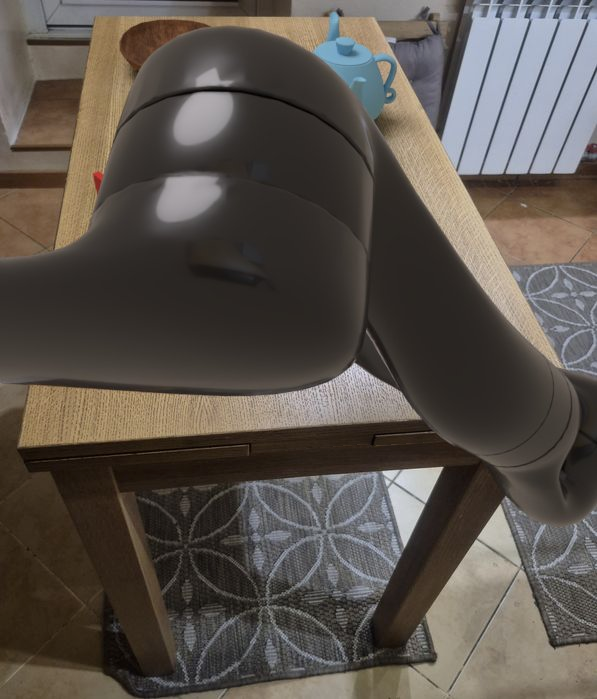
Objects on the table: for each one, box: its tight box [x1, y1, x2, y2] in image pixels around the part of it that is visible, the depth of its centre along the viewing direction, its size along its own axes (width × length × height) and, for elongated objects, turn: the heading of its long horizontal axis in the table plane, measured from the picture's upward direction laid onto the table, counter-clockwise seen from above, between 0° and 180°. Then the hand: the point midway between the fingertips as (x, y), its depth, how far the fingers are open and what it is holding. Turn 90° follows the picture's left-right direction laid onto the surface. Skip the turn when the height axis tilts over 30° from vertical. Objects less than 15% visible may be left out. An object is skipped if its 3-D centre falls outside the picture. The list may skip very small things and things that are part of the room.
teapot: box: [311, 11, 398, 121], centre depth 104 cm, size 16×20×14 cm
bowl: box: [118, 19, 212, 72], centre depth 117 cm, size 20×22×5 cm
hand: (241, 230), depth 56 cm, fingers open, 8 cm apart
